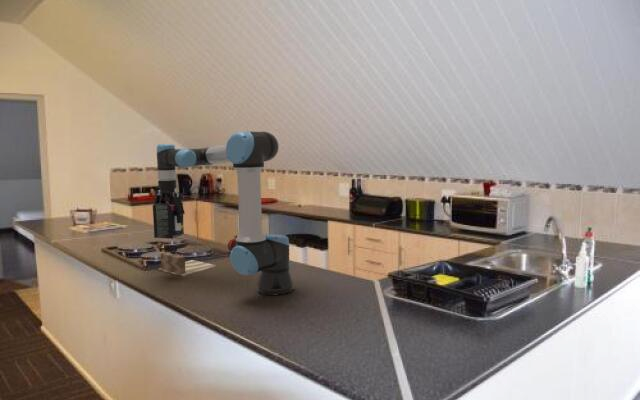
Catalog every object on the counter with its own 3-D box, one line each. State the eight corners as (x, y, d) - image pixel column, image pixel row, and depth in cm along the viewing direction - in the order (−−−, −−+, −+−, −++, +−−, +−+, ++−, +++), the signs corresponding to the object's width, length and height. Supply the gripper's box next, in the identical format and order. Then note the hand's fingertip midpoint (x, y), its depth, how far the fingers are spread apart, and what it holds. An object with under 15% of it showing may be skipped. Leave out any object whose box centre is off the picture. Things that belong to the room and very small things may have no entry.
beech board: (216, 266, 238) (216, 250, 237) (183, 276, 223) (182, 258, 221) (192, 261, 249) (191, 245, 248) (158, 269, 233) (158, 253, 232)
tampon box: (173, 239, 211) (171, 205, 209) (153, 238, 213) (151, 204, 211) (184, 233, 222) (183, 201, 220) (165, 233, 224) (164, 201, 222)
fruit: (242, 254, 262) (242, 236, 260) (225, 254, 263) (225, 236, 262) (247, 250, 271) (247, 233, 269) (231, 250, 272) (230, 232, 271)
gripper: (192, 180, 211) (193, 230, 214) (157, 177, 224) (159, 224, 227) (177, 181, 204) (179, 233, 207) (142, 178, 218) (145, 227, 221)
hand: (169, 228), depth 217 cm, fingers closed on tampon box, 11 cm apart
